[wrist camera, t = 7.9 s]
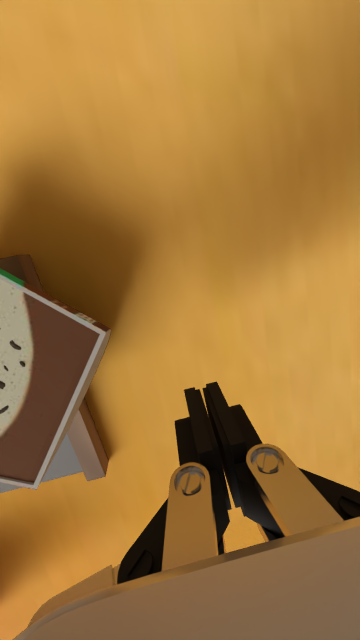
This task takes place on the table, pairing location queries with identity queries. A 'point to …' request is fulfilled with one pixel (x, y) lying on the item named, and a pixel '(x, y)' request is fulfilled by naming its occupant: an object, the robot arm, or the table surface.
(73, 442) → the rail
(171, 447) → the table surface
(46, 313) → the food container
